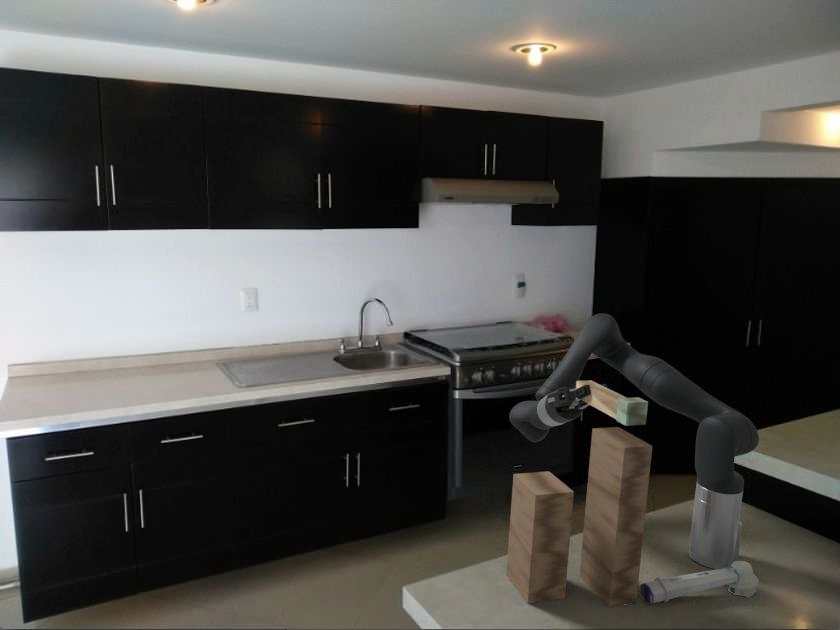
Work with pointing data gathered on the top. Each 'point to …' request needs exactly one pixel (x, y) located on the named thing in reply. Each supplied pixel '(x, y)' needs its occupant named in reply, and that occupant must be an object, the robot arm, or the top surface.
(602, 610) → the top surface
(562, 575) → the low walnut block
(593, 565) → the walnut post
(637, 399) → the oak rail
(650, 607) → the top surface
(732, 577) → the white tube with head
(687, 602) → the top surface
